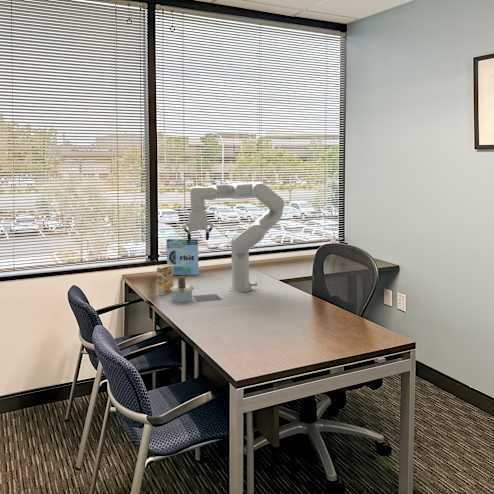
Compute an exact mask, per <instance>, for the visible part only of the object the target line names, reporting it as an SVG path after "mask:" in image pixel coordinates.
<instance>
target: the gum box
mask: <svg viewBox="0 0 494 494" xmlns="http://www.w3.org/2000/svg"><path fill="white" fill-rule="evenodd" d="M166 265H172V268H173V276H178V275H179V276H198V275H199V238H191V241H189V240H188V238H167V239H166Z"/></svg>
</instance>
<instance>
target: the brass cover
mask: <svg viewBox="0 0 494 494" xmlns="http://www.w3.org/2000/svg"><path fill="white" fill-rule="evenodd" d="M194 289H195V288H194V286H192V285H190V284H189V285H188V284H186V277H185V276H178V277H177V285H173V286H172V287H171V288H170V290H171V291H174V292H187V291H191V290H192V291H193V290H194Z"/></svg>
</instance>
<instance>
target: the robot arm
mask: <svg viewBox="0 0 494 494" xmlns="http://www.w3.org/2000/svg"><path fill="white" fill-rule="evenodd" d="M189 194H190V211H189V212H188V218H187V219H188V220H187V221H188V222H187V223H185V224H183V225H182V227H181V228H182V229H183V230H184V232H185V233H186V234H187V235H186V236H187V239H188V240H189V241H191V239H192V234H191V232H192V231H205V240H206V241H209V239H210V233H211V231H212V230H213V228H214V226H215V225H214V224H213V223H211V222H208V217H207V211H206V210H208V207H207V206H205V200H206V201H214V200H216V199H232V200H233V199H234V200H240V199H257V200H258V201H259V202H260V203H261V204H263V205H264V206H266V207H267V210H266V211H265V212H264V213H263V214H262V215H261V216H260V217H258V218H257V219H256V220H254V221H253V222H252V223H250V224H249V225H248V226H247V228H246V229H245V230H244V231H243V232H241V233H236V234H235V235H233V236H232V238H231V242H230V245H231V286H230V287H229V288H228V289H229V291H230V292H236V293H248V292H251V291H252V289H253V288H252V287H258V282H253V281H252V282H251V281H250V266H249V265H250V254H249V253H250V251H249V250H250V249H252V248H253V247H255V246H256V245H257V244H259V243H260V242H261V241H262V240H263V239H264V237H265V236H266V233H267V232H269V230H271V229H272V228H273V227H274V226H275V225H277V223H279V221H280V219H281V218H282V216H283V211H284V207H285V201H284V199H283V197H281V196H280V195H278V194H277V193H276V192H275V191H273V190H272V189H271V188H270V187H269V186H268V185H266V184H265V182H261V181H253V182H252V181H251V182H239V183H229V184H216V185H215V184H214V185H209V186H201V185H199V186H196V185H195V186H191V187H190V193H189ZM208 226H209V227H208ZM187 227H188V229H187Z"/></svg>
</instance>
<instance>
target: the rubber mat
mask: <svg viewBox="0 0 494 494" xmlns="http://www.w3.org/2000/svg"><path fill="white" fill-rule="evenodd" d="M192 298H194V300H195V301H196V302H197V303H202V302H211V301H212V302H213V301H222V300H223V299H222V298H221V297H220V296H219V295H218V294H217V293H210V294H209V293H208V294H201V295H192Z"/></svg>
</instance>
